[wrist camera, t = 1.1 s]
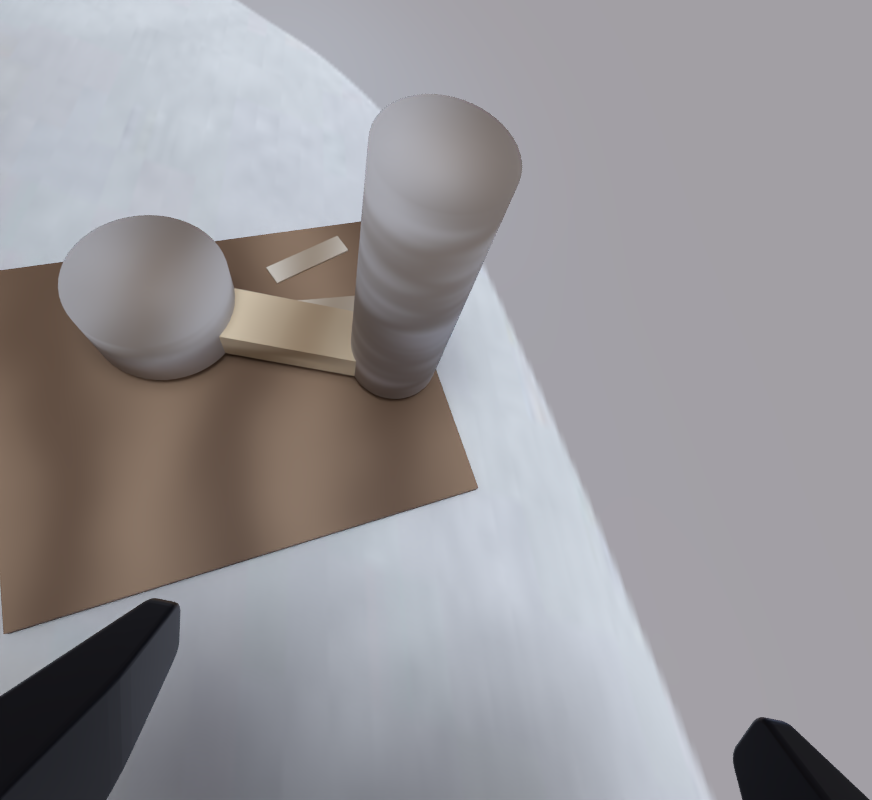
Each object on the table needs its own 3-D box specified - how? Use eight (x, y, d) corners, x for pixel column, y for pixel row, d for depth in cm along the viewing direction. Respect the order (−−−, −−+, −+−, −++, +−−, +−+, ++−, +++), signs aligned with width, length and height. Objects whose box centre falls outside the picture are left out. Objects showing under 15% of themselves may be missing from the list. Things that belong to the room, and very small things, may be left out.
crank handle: (68, 365, 21) (-205, 106, 10) (119, 248, 24) (-60, -64, 13) (427, 426, 23) (516, 262, 12) (441, 312, 26) (526, 90, 15)
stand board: (8, 633, 18) (2, 633, 18) (-16, 277, 23) (-22, 271, 22) (476, 489, 23) (478, 487, 23) (381, 222, 28) (382, 217, 27)
